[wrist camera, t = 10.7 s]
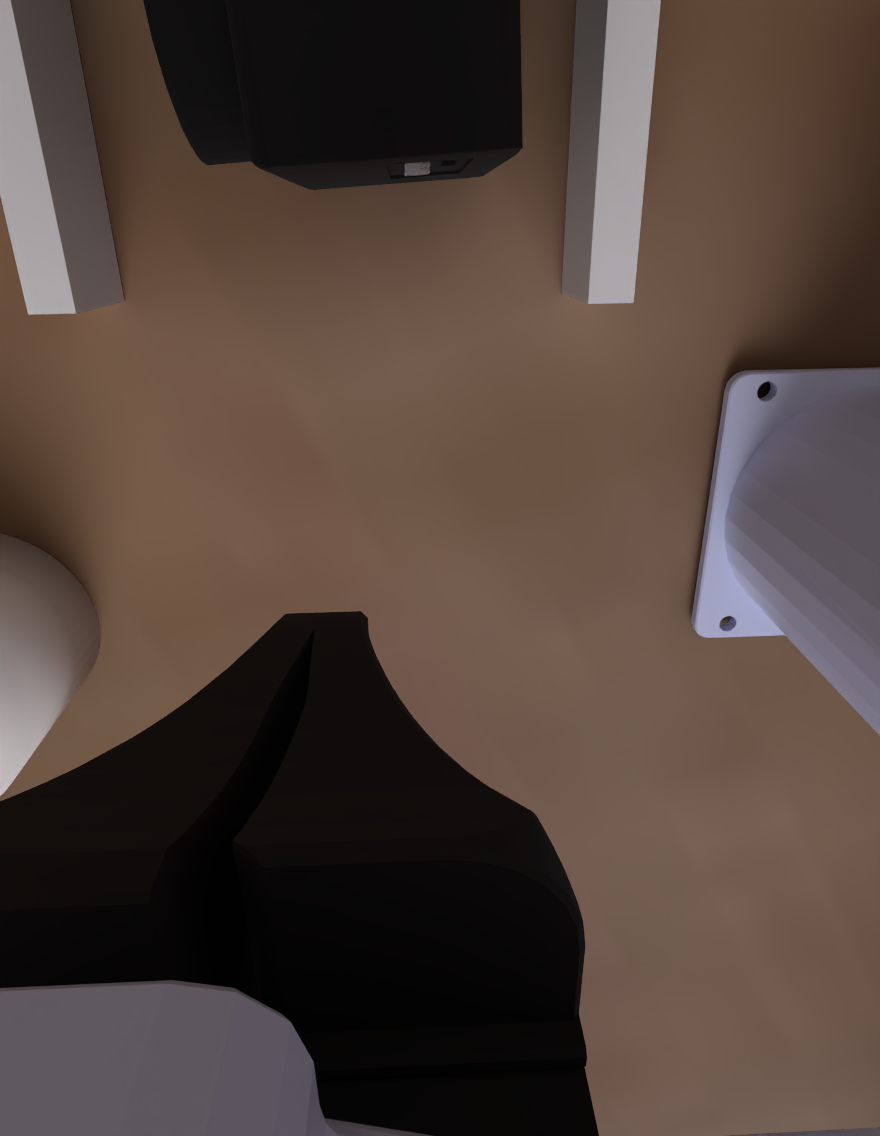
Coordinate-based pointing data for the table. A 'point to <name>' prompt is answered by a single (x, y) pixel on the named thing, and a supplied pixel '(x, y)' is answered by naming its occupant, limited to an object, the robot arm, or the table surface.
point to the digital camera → (345, 86)
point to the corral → (77, 198)
